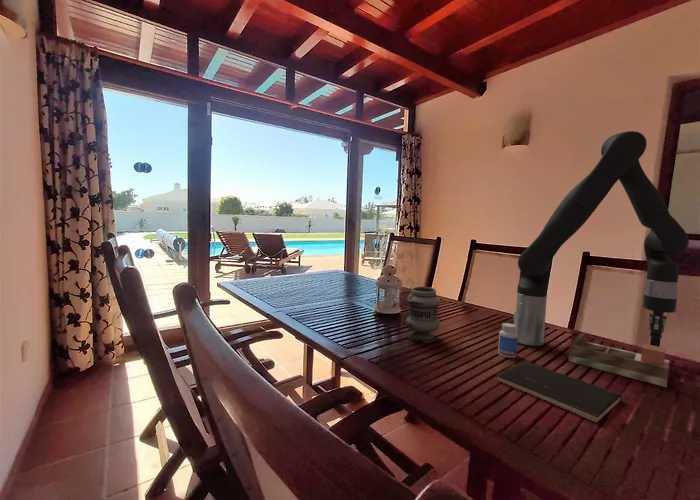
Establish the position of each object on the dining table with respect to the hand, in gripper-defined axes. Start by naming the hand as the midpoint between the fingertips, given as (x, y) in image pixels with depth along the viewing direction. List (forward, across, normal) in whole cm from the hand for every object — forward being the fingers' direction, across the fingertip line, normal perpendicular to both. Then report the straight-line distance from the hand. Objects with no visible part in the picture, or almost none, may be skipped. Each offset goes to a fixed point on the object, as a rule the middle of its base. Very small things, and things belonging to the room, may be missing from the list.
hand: (654, 349), depth 104 cm
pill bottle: (+4, -30, +33) cm, 45 cm away
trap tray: (+4, -12, +8) cm, 15 cm away
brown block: (+2, -8, 0) cm, 8 cm away
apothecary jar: (+4, -37, +61) cm, 71 cm away
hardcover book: (+4, -45, +17) cm, 48 cm away
